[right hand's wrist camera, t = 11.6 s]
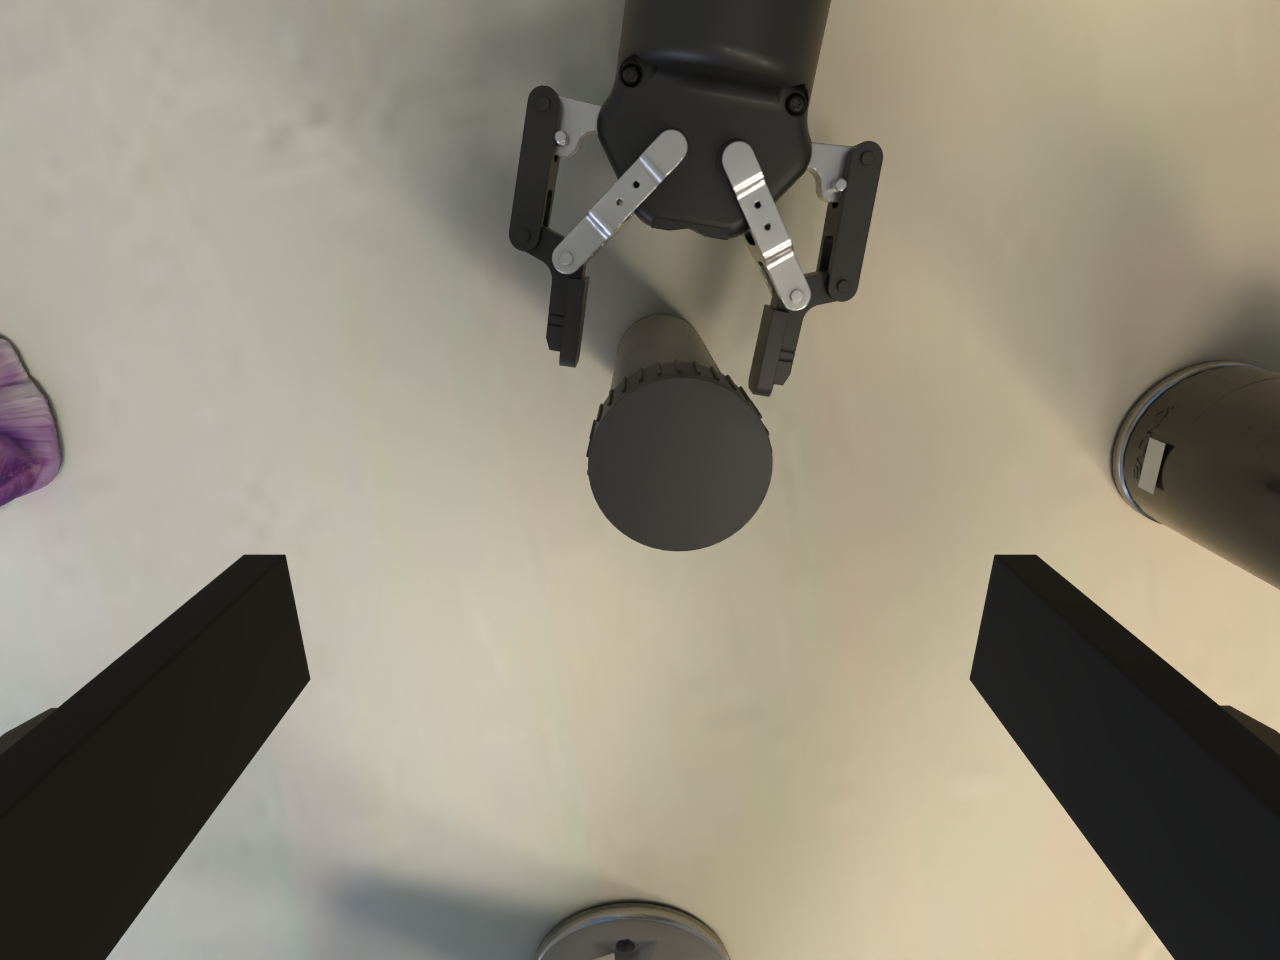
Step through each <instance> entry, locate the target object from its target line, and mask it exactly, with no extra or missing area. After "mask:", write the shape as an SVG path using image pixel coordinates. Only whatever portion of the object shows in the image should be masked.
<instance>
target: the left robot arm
mask: <svg viewBox="0 0 1280 960" xmlns="http://www.w3.org/2000/svg"><path fill="white" fill-rule="evenodd" d="M830 2H831V0H626V1H625V9H624V17H623V25H622V33H621V41H620V49H619V57H618V65H617V72H616V79H615V83H614V86H613V88H612V91H611V93H610V95H609V96H608V98H607V100H606V101H605V102H604V104H603V105H602V106H599V105H595V104H591V103H586V102H582V101H578V100H574V99H570V98H566V97H562V96H559V95H558V94H557V93H556V92H555V91H554V90H553V89H552V88H550V87H548V86H538V87H536V88H534V89H533V90H532V91H531V93H530V95H529V98H528V103H527V110H526V117H525V124H524V131H523V138H522V145H521V152H520V159H519V166H518V173H517V180H516V187H515V194H514V201H513V209H512V216H511V223H510V230H509V238H510V241H511V243H512V245H513V246H514V247H515V248H517V249H518V250H521V251H525V252H527V253H529V254H530V255H532V256H534V257H536V258H538V259H539V260H541V261H543V262H544V263H545V264H546V265H547V266H548V267H549V269H550V271H551V274H552V287H551V297H550V306H549V316H548V325H547V335H546V339H547V342H548V346H549V349H550V350H554V351H560V359H559V365H562V366H568V367H576V365H577V363H578V361H579V355H580V348H581V340H582V332H583V324H584V316H585V308H586V300H587V292H588V284H589V277H585V269H586V263H587V262H588V261H589V260H590V259H591V258H592V257H593V256H594V255H595V254H596V253H597V251H598V250H599V249H600V248H601V247H602V246H603V245H604V244H605V243H606V242H607V241H608V240H609V239H610V238H611V237H612V236H613V235H614V234H615V233H616V232H617V231H618V230H619V229H620V228H621V227H622V226H623V225H624V224H625V223H626V222H627V221H628V220H629V219H630V218H631V217H632V216H633V215H634V214H636V215H637V216H638V218H639V219H640V220H641V221H643V222H644V223H645V224H647V225H649V226H651V228H657V229H663V230H678V229H690V230H692V231H694V232H697V233H699V234H701V235H703V236H705V237H711V238H717V239H724V240H728V239H729V238H734V237H737V236H739V235H741V234H742V236H743V238H744V240H745V242H746V244H747V247H748V249H749V251H750V253H751V255H752V257H753V258H754V260H755V261H756V263H757V265H758V267H759V269H760V271H761V274H762V276H763V278H764V280H765V282H766V284H767V287H768V289H769V291H770V293H771V295H772V300H771V305H764V310H763V315H762V320H761V324H760V329H759V334H758V338H757V343H756V348H755V353H754V357H753V362H752V367H751V371H750V376H749V389H750V390H751V392H752V393H753V394H755V395H761V396H768V397H769V396H770V394H771V392H772V388H773V384H778V385H783V384H784V383H785V381H786V380H787V378H788V377H789V375H790V372H791V368H792V363H793V359H794V355H795V351H796V346H797V342H798V338H799V333H800V329H801V325H802V320H803V317H804V315H805V314H806V312H807V311H808V310H809V309H810V308H812V307H814V306H816V305H819V304H824V303H829V302H834V301H840V302H843V301H847V300H849V299H851V298H852V297H853V296H854V295H855V293H856V291H857V288H858V283H859V278H860V273H861V268H862V263H863V258H864V252H865V247H866V242H867V237H868V232H869V227H870V222H871V217H872V211H873V206H874V201H875V196H876V191H877V186H878V181H879V176H880V171H881V165H882V160H883V153H882V150H881V148H880V146H879V145H878V144H876V143H875V142H872V141H866V142H863V143H860V144H858V145H855V146H853V147H850V146H841V145H831V144H821V143H811V139H810V136H809V131H808V125H807V113H808V107H809V102H810V97H811V92H812V87H813V83H814V78H815V73H816V68H817V64H818V59H819V54H820V49H821V45H822V40H823V35H824V30H825V26H826V21H827V16H828V12H829V7H830ZM591 134H598V137H599V140H600V142H601V144H602V147H603V149H604V151H605V153H606V155H607V157H608V159H609V161H610V163H611V165H612V167H613V169H614V172H615V174H616V176H617V178H618V181H617V182H616V183H615V184H614V185H613V186H612V187H611V188H610V189H609V190H608V191H607V192H606V193H605V195H604V196H603V197H602V198H601V199H600V200H599V201H598V202H597V203H596V204H595V205H594V206H593V207H592V208H591V210H590V211H589V212H588V213H587V215H586V216H585V217H584V218H583V219H582V220H581V221H580V223H579V224H578V225H577V226H576V227H575V228H574V229H573V230H572V231H571V232H570V233H569V234H568V235H567V236H566V237H564V236H562V235H561V234H559V233H557V232H555V231H554V230H552V229H550V228H549V222H550V216H551V210H552V204H553V198H554V191H555V185H556V179H557V173H558V167H559V160H560V158H571V157H573V156H574V155H575V154H576V153H577V152H578V150H579V147H580V144H581V142H582V140H583V139H584V138H585V137H586V136H588V135H591ZM806 170H807V171H809V172H810V173H811V174H812V175H813V176H814V178H815V181H816V193H817V196H818V197H819V199H820V200H821V201H823V202H825V203H828V207H827V213H826V218H825V224H824V230H823V236H822V241H821V247H820V253H819V259H818V264H817V270H816V272H812V273H807V274H803V272H802V270H801V267H800V265H799V263H798V261H797V258H796V256H795V254H794V251H793V245H792V242H791V239H790V237H789V234H788V232H787V230H786V228H785V225H784V223H783V221H782V219H781V216H780V214H779V212H778V209H777V207H776V205H775V202H776V201H777V200H778V199H779V198H780V197H781V196H782V195H783V194H784V193H785V192H786V191H787V190H788V189H789V188H790V187H791V186H792V185H793V184H794V183H795V182H796V181H797V180H798V179H799V178H800V177H801V176H802V175H803V174H804V172H805V171H806ZM621 202H623V204H622V205H621V206H619V204H620V203H621ZM1113 474H1114V479H1115V483H1116V486H1117V488H1118V490H1119V492H1120V494H1121V496H1122V497H1123V499H1124V500H1125V501H1126V502H1127V504H1129V505H1130V506H1131V507H1132V508H1133V509H1134V510H1135V511H1137V512H1138V513H1140V514H1142V515H1143V516H1145V517H1147V518H1149V519H1151V520H1153V521H1155V522H1157V523H1160V524H1163V525H1165V526H1167V527H1169V528H1171V529H1172V530H1174V531H1176V532H1178V533H1179V534H1181V535H1183V536H1185V537H1187V538H1188V539H1190V540H1192V541H1193V542H1195V543H1197V544H1199V545H1200V546H1202V547H1204V548H1206V549H1208V550H1209V551H1211V552H1213V553H1215V554H1217V555H1218V556H1220V557H1222V558H1224V559H1226V560H1227V561H1229V562H1231V563H1233V564H1235V565H1236V566H1238V567H1240V568H1242V569H1244V570H1245V571H1247V572H1249V573H1251V574H1253V575H1254V576H1256V577H1258V578H1260V579H1262V580H1263V581H1265V582H1267V583H1269V584H1271V585H1273V586H1274V587H1276V588H1278V589H1280V373H1277V372H1272V371H1268V370H1266V369H1263V368H1261V367H1258V366H1254V365H1250V364H1245V363H1240V362H1234V361H1213V362H1207V363H1202V364H1198V365H1195V366H1192V367H1189V368H1186V369H1184V370H1181V371H1179V372H1177V373H1175V374H1173V375H1172V376H1170V377H1168V378H1166V379H1165V380H1163V381H1162V382H1160V383H1159V384H1158V385H1156V386H1155V387H1154V388H1152V389H1151V390H1150V391H1149V392H1148V393H1147V394H1146V395H1145V396H1144V397H1143V398H1142V399H1141V400H1140V401H1139V402H1138V403H1137V404H1136V406H1135V407H1134V408H1133V409H1132V411H1131V412H1130V414H1129V415H1128V417H1127V418H1126V420H1125V422H1124V424H1123V425H1122V428H1121V430H1120V432H1119V434H1118V437H1117V440H1116V444H1115V447H1114V453H1113Z"/></svg>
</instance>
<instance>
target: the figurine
mask: <svg viewBox="0 0 1280 960" xmlns="http://www.w3.org/2000/svg"><path fill="white" fill-rule="evenodd" d="M61 459H62V456H61V453H60V449H59V443H58V437H57V432H56V428H55V423H54V419H53V416H52V413H51V410H50V408H49V405H48V400H47V399H46V398H45V397H44V396H43V394H42V393H41V391H40V390H39V389H38V387H37V386H36V385H35V384H34V382H33V381H32V380H31V379H30V378H29V377H28V375H27V373H26V371H25V370H24V368H23V367H22V363H21V361H20V360H19V357H18V355H17V354H16V352H15V351H14V349H13V348H12V346H11V345H10V343H9V342H8V341H6V340H4V339H1V338H0V506H2V505H4V504H6V503H8V502H10V501H12V500H13V499H15V498H17V497H20V496H23V495H26V494H28V493H31V492H33V491H36V490H38V489H40V488H42V487H44V486H46V485H48V484H49V483H50V482H51V481H52V480H53V479H54V478H55V476H56V474H57V472H58V470H59V467H60V465H61Z"/></svg>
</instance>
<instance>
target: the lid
mask: <svg viewBox="0 0 1280 960" xmlns="http://www.w3.org/2000/svg"><path fill="white" fill-rule="evenodd" d="M761 418H762V416H761V414H760V412H759V411H758V409H757V408H756V406H755V405H754V403H753V402H752V401H751V400H750V398H749V397H748V395H747V394H746V392H745V391H744V389H743V388H742V387H741V386H740V387H738V386H736V385H735V384H734V382H733V381H732V379H731V378H730V376H729V375H726V376H724V375H723V374H721V373H719V372H717V371H716V370H715V368H714V367H713V366H711V367H710V368H709V367H706V366H704V365H700V364H697V362H696V361H693V363H691V362H678V359H675V360H674V362H665V363H659V362H656V364H655V365H652V366H649V367H646V368H644V369H642V367H641V368H639V369H638V371H637V372H635V373H634V374H632V375H631V376H629V377H627V378H626V377H624V378H623V380H622V382H621V383H620V384H619V385H618V386H617V387H616V388H615V389H614V390H613V389H611V390H610V391H609V396H608V398H607V399H606V401H605V402H604V404H600V406H599V411H598V415H597V420H594V421H593V425H592V429H591V433H590V437H589V438H590V442H589V446H588V450H587V456H586V457H589V458H588V471H587V474H588V475H589V480H590V485H591V489H592V492H593V495H594V498H595V500H596V502H597V504H598V506H599V508H600V509H601V511H602V512H603V514H604V515H605V516H606V518H607V519H608V520H609V521H610V522H611V523H612V524H613V525H614V526H615V527H616V528H617V529H618V530H619V531H621V532H622V533H623V534H625V535H626V536H628V537H629V538H631V539H633V540H635V541H637V542H639V543H641V544H643V545H646V546H649V547H652V548H656V549H661V550H667V551H690V550H696V549H701V548H705V547H708V546H711V545H714V544H716V543H719V542H721V541H723V540H725V539H726V538H728V537H730V536H731V535H733V534H734V533H736V532H737V531H738V530H740V529H741V528H742V527H743V526H744V525H745V524H746V523H747V522H748V521H749V520H750V519H751V518H752V517H753V515H754V514H755V513H756V511H757V510H758V508H759V507H760V505H761V504H762V502H763V500H764V498H765V495H766V493H767V490H768V487H769V484H770V480H771V474H772V461H773V459H772V449H771V444H770V440H769V436H768V435H769V432H768V430H767V429H766V427H765V426H764V424H763V423H762V421H761Z"/></svg>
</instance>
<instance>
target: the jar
mask: <svg viewBox="0 0 1280 960" xmlns="http://www.w3.org/2000/svg"><path fill="white" fill-rule="evenodd" d="M675 359H678V362H691V363H693V361H696V362H697V364H700V365H704V366H706V367H709V368H710V367H711V366H713V367H714V368H715V370H716V371H717V372H719V373H721V372H720V370H719V368H718V367H717V365H716V363H715V361H714V360H713V358H712V356H711V355H710V353H709V351H708V350H707V348H706V346H705V344H704V343H703V341H702V339H701V338H700V336H699V334H698V333H697V331H696V330H695V329H694V328H693V327H692V326H691V325H690V324H689V323H687V322H686V321H684V320H683V319H681V318H678V317H676V316H672V315H666V314H657V315H651V316H648V317H645V318H643V319H641V320H639V321H637V322H636V323H634V324H633V325H632V326H631V327H630V328H629V329H628V330H627V331H626V333H625V334H624V336H623V337H622V339H621V341H620V344H619V347H618V352H617V357H616V363H615V368H614V374H613V379H612V385H611V389H613V390H614V389H615V388H616V387H617V386H618V385H619V384H620V383H621V382H622V380H623V378H624V377H626V378H627V377H629V376H631V375H632V374H634V373H635V372H637V371H638V369H639V368H641V367H642V369H644V368H646V367H649V366H652V365H655V364H656V362H659V363H665V362H674V360H675ZM721 374H722V373H721Z"/></svg>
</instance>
